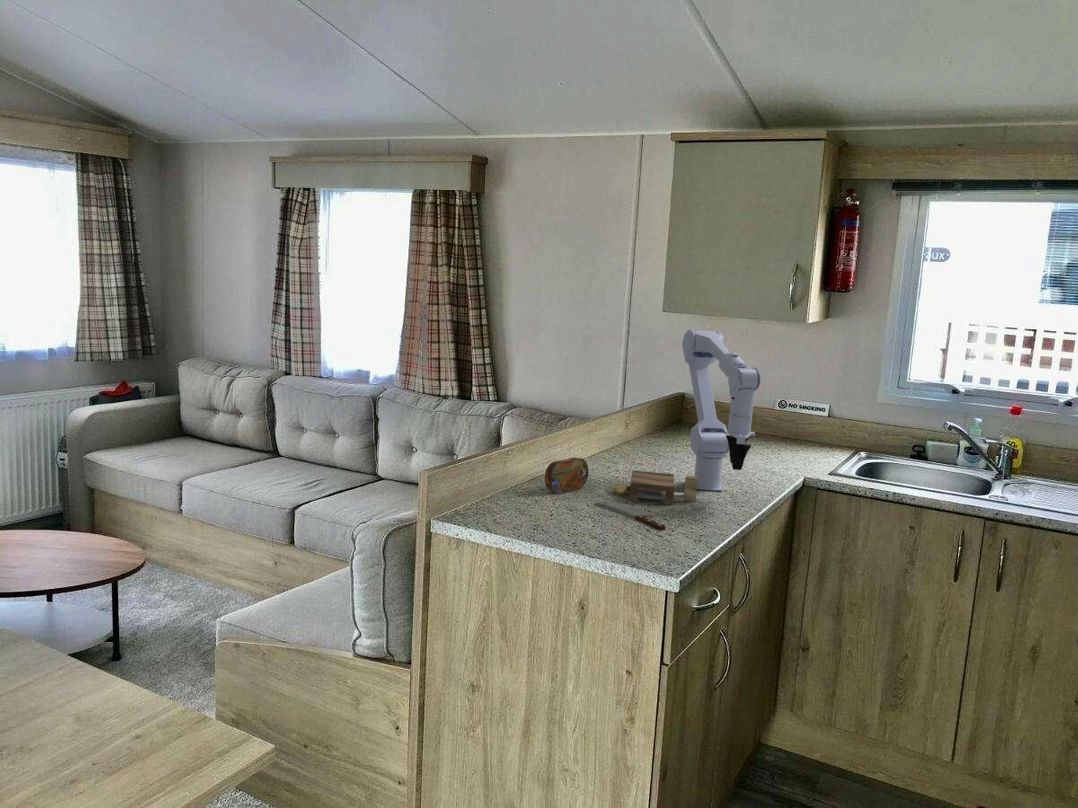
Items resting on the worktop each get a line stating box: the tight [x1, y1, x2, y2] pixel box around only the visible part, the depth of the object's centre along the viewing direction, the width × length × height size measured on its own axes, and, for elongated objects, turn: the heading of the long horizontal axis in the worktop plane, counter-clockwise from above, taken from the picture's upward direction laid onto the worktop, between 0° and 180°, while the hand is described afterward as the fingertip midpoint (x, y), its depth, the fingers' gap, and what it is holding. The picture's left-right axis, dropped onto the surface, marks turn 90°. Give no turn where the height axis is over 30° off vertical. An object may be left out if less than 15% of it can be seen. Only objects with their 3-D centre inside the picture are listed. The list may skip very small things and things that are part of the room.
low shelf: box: [628, 470, 675, 506], centre depth 233 cm, size 14×11×5 cm
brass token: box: [612, 483, 630, 497], centre depth 235 cm, size 5×5×2 cm
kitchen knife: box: [596, 500, 666, 531], centre depth 215 cm, size 24×1×10 cm
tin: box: [544, 457, 589, 495], centre depth 234 cm, size 15×3×8 cm, turn 137°
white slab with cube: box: [637, 474, 698, 503], centre depth 233 cm, size 6×16×6 cm, turn 82°
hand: (735, 466), depth 232 cm, fingers open, 7 cm apart
